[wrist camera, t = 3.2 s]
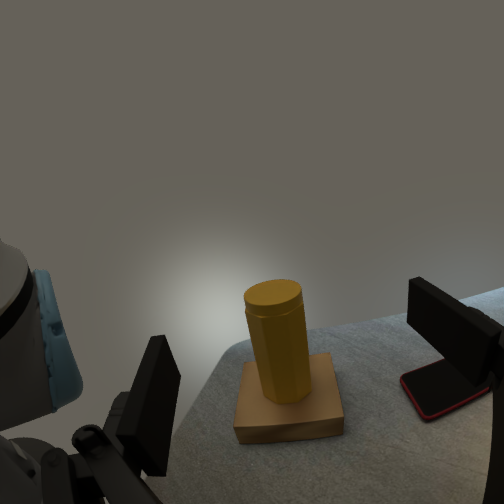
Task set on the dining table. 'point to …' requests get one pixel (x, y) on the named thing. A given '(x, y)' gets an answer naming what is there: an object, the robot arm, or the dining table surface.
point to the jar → (279, 339)
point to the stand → (289, 408)
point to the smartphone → (440, 388)
